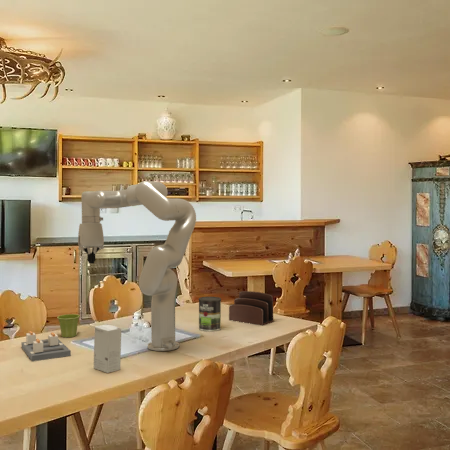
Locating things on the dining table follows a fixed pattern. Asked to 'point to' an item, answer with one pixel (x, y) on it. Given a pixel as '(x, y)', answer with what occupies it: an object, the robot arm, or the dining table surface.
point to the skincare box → (107, 348)
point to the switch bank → (46, 351)
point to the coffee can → (209, 313)
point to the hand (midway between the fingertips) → (91, 263)
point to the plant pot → (68, 324)
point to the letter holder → (252, 308)
